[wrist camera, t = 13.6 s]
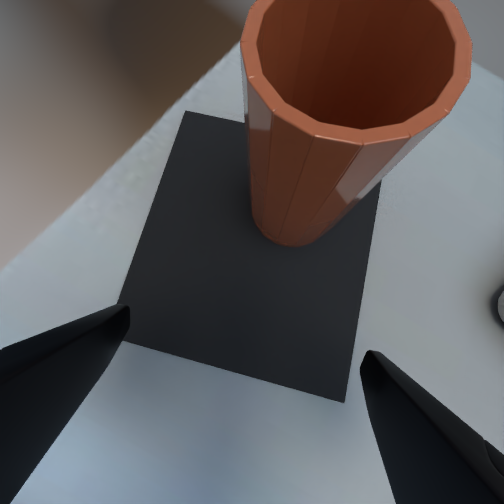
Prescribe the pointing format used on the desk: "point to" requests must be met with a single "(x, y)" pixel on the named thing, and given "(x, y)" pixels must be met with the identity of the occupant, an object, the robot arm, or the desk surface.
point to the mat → (243, 273)
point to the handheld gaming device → (501, 306)
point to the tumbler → (341, 101)
